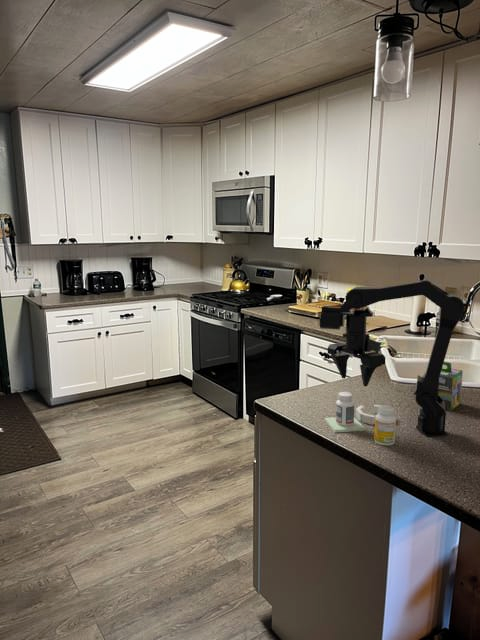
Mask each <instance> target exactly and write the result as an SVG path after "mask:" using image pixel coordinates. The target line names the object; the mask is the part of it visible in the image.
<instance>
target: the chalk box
mask: <svg viewBox="0 0 480 640" xmlns="http://www.w3.org/2000/svg"><path fill="white" fill-rule="evenodd" d="M445 366H446V367H445ZM462 387H463V370H461V369H455V368H452V363H451V362H448V361H444V363H443V366H442V370H441V373H440V377H439V389H438V395H439V396H440V397H441V398H442V399H443V400H444V405H445V411H449V412H450V411H451V412H452V411H453V410H454V409H455V408H457V407H458V406H459V405H461V403H462V391H463V388H462Z"/></svg>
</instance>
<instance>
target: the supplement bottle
mask: <svg viewBox="0 0 480 640" xmlns="http://www.w3.org/2000/svg"><path fill="white" fill-rule="evenodd" d="M378 412H379V413H378V414H376V415H375V424H374V439H373V440H374V442H375V443H376V444H378V445H381V446H392V445H394V444H395V443H396V429H397V417H396V415H395V414H394V413H395V408H394V407H393V406H391V405H388V404H387V405H385V404H383V405H380V406H379V409H378Z"/></svg>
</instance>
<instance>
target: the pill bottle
mask: <svg viewBox="0 0 480 640" xmlns="http://www.w3.org/2000/svg"><path fill="white" fill-rule="evenodd" d="M337 394H338V395H337V397H338V399H337V400H336V403H335V417H336V423H337V424H339V425H343V426H350V425H352V424H354V417H355V402H354V400H353V393H351V392H349V391H341V392H338V393H337Z"/></svg>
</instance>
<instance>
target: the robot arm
mask: <svg viewBox="0 0 480 640" xmlns="http://www.w3.org/2000/svg"><path fill="white" fill-rule="evenodd" d="M418 296H424V297H425V298H427V299H428V300H429V301H431V303H433V304H434V305H436V306H437V307H439V316H438V327H437V331H436V335H435V338H434V341H433V345H432V349H431V352H430V355H429V359H428V362H427V367H426V370H425V372H424V374H423V375H422V376H421V375H417V376H416V377H417V380H416V384H415V385H414V387H413V395H414V396H415V402H416V404H417V406H419V407H421V408H420V409H419V414H418V415H417V425H415V428H416V429H417V430H418V431H419V432H421V433H422V434H423V435H425V436H426V437H436V436H438V437H439V436H448V434H449V433H448V432H447V431H446V422H447V421H446V419H447V412H446V410H445V405H444V400H443V399H442V398H441V397H440V396H439V395H438V389H439V377H440V373H441V370H442V367H444V365H443V363H444V362H445V359H446V355H447V352H448V349H449V346H450V341H451V338H452V335H453V332H454V330H455V328H456V326H457V325H458V323H459V322H460V319H461V318H462V316H463V313H464V312H465V307H466V306H465V303H464V301H463V299H462V298H461V297H460V295H458V294H455V293H448V292H447V291H445V290H444V289H443V288H440V287H439V286H437V285H435V284H434V283H433V282H432V281H431V280H429V279H422V280H418V281H412V282H407V283H399V284H393V285H388V286H381V287H379V286H377V287H376V286H375V287H374V286H373V287H372V286H355V287H353V288H351V289H350V290H348V292H347V293H346V294H345V301H344V302H343V303H342V304H341V305H340V306H329V305H323V306H321V312H320V317H319V328H320V329H321V330H323V329H324V330H336V331H337V330H341V327H345V333H342V338H345V343H344V342H337V343H330V344H329V345H328V347H327V354H328V355H330V356H329V357H330V358H332V360H333V362H334V364H335V366H336V368H337V370H338V372H339V374H340V377H341V379H343V380H344V379H346V377H347V371H348V370H347V369H348V361H349V358H350V357H353V358H357V359H360V363H361V364H359V368H360V374H361V379H362V385H363V387H368V386H369V383H370V381H371V378H372V375H373V374H374V372H375V370H376V369H377V368H379V367H381V366H382V365H386V356H385V355H384V354H383V353H381V352H380V349H381V346H382V342H380V341H376V340H373V339H371V338H370V337H371V336H370V333H367V317H371V318H372V317H373V316H374V312H373V311H372V310H371V309H370V308H369V307H368V306H370V305H374V304H376V303H378V302H382V301H383V302H384V301H391V300H397V299H398V300H399V299H404V298H410V297H411V298H412V297H418ZM364 307H366V308H365V309H362V308H364ZM352 309H353V312H351V310H352ZM349 311H350V312H349Z"/></svg>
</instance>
